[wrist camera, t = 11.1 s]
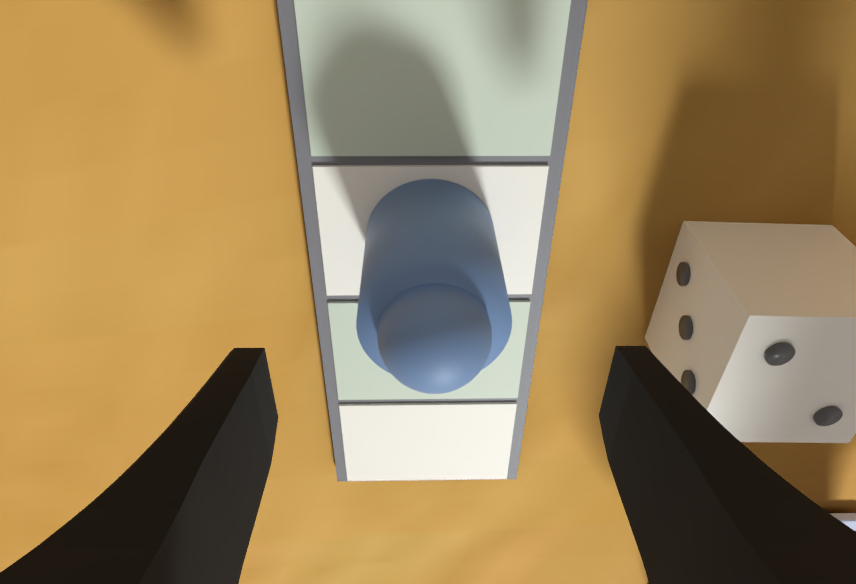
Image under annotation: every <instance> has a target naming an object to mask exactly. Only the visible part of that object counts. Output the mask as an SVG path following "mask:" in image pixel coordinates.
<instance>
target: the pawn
mask: <svg viewBox="0 0 856 584" xmlns="http://www.w3.org/2000/svg"><path fill="white" fill-rule="evenodd" d="M511 329H512V314H511V308H510V304H509V299H508V294H507V289H506V284H505V279H504V274H503V269H502V264H501V260H500V255H499V250H498V245H497V240H496V235H495V230H494V225H493V221H492V218H491V215H490V213H489V211H488V209H487V207H486V206H485V204H484V203H483V202H482V200H481V199H480V198H479V197H478V196H477V195H476V194H474V193H473V192H472V191H470V190H469V189H467V188H466V187H464V186H462V185H459V184H457V183H454V182H451V181H447V180H442V179H421V180H415V181H411V182H408V183H405V184H403V185H401V186H398V187H397V188H395V189H393V190H392V191H390V192H389V193H388V194H386V195H385V196H384V197H383V198H382V199H381V200H380V201H379V202H378V204H377V205H376V206H375V208H374V209H373V211H372V213H371V215H370V218H369V221H368V225H367V232H366V240H365V249H364V258H363V266H362V275H361V283H360V292H359V301H358V309H357V318H356V330H357V336H358V339H359V342H360V344H361V346H362V348H363V350H364V351H365V353H366V354H367V355H368V357H369V358H370V359H371V360H372V361H373V362H374V363H375V364H377V365H378V366H379V367H380V368H382V369H383V370H385V371H387V372H388V373H390V374H392V375H393V376H394V377H395V378H396V379H397V380H398V381H399V382H400V383H402V384H403V385H405V386H406V387H408V388H410V389H413V390H415V391H418V392H422V393H427V394H442V393H448V392H452V391H454V390H457V389H459V388H461V387H463V386H465V385H466V384H468V383H469V382H470V381H472V380H473V379H474V378H475V377H476V376H477V375H478V374H479V372H480V371H481V370H482V369H484V368H486V367H487V366H488V365H489V364H491V363H492V362H493V361H494V360H495V359H496V358H497V357H498V356H499V355H500V353H501V352H502V351H503V350H504V348H505V346H506V344H507V342H508V340H509V337H510V334H511Z"/></svg>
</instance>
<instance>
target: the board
mask: <svg viewBox="0 0 856 584" xmlns="http://www.w3.org/2000/svg"><path fill="white" fill-rule="evenodd" d="M587 2H588V0H277V7H278V15H279V22H280V30H281V38H282V46H283V54H284V62H285V70H286V78H287V86H288V93H289V101H290V109H291V117H292V125H293V133H294V141H295V149H296V157H297V165H298V172H299V180H300V188H301V196H302V204H303V212H304V220H305V228H306V236H307V243H308V251H309V259H310V267H311V275H312V283H313V291H314V299H315V307H316V314H317V322H318V330H319V338H320V346H321V354H322V362H323V370H324V378H325V385H326V393H327V401H328V409H329V417H330V425H331V433H332V441H333V449H334V456H335V464H336V472H337V480H338V481H407V480H485V479H516V478H517V471H518V464H519V458H520V451H521V444H522V437H523V431H524V424H525V417H526V411H527V404H528V397H529V390H530V384H531V377H532V370H533V364H534V357H535V350H536V344H537V337H538V330H539V323H540V317H541V310H542V303H543V297H544V290H545V283H546V277H547V270H548V263H549V256H550V250H551V243H552V236H553V230H554V223H555V216H556V210H557V203H558V196H559V189H560V183H561V176H562V169H563V163H564V156H565V149H566V143H567V136H568V129H569V122H570V116H571V109H572V102H573V96H574V89H575V82H576V75H577V69H578V62H579V55H580V49H581V42H582V35H583V29H584V22H585V15H586V8H587ZM421 179H442V180H447V181H451V182H454V183H457V184H459V185H462V186H464V187H466V188H467V189H469V190H470V191H472V192H473V193H474V194H476V195H477V196H478V197H479V198H480V199H481V200H482V202H483V203H484V204H485V206H486V207H487V209H488V211H489V213H490V215H491V218H492V221H493V225H494V230H495V235H496V240H497V245H498V250H499V255H500V260H501V264H502V269H503V274H504V279H505V284H506V289H507V294H508V299H509V304H510V308H511V314H512V329H511V334H510V337H509V340H508V342H507V344H506V346H505V348H504V350H503V351H502V352H501V353H500V355H499V356H498V357H497V358H496V359H495V360H494V361H493V362H492V363H491V364H489V365H488V366H487V367H486V368H484V369H482V370H481V371H480V372H479V374H478V375H477V376H476V377H475V378H474V379H473V380H472V381H470V382H469V383H468V384H466V385H465V386H463V387H461V388H459V389H457V390H454V391H452V392H448V393H442V394H427V393H422V392H418V391H415V390H413V389H410V388H408V387H406V386H405V385H403V384H402V383H400V382H399V381H398V380H397V379H396V378H395V377H394V376H393V375H392V374H390V373H388V372H387V371H385V370H383V369H382V368H380V367H379V366H378V365H377V364H375V363H374V362H373V361H372V360H371V359H370V358H369V357H368V355H367V354H366V353H365V351H364V350H363V348H362V346H361V344H360V342H359V339H358V336H357V330H356V318H357V309H358V301H359V292H360V283H361V275H362V266H363V258H364V249H365V240H366V232H367V225H368V221H369V218H370V215H371V213H372V211H373V209H374V208H375V206H376V205H377V204H378V202H379V201H380V200H381V199H382V198H383V197H384V196H385V195H386V194H388V193H389V192H390V191H392V190H393V189H395V188H397V187H398V186H401V185H403V184H405V183H408V182H411V181H415V180H421Z"/></svg>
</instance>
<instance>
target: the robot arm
mask: <svg viewBox="0 0 856 584" xmlns="http://www.w3.org/2000/svg"><path fill="white" fill-rule="evenodd" d="M599 418H600V423H601V429H602V434H603V439H604V444H605V448H606V453H607V457H608V461H609V464H610V467H611V470H612V473H613V476H614V479H615V482H616V485H617V488H618V491H619V494H620V497H621V500H622V503H623V506H624V509H625V511H626V514H627V517H628V520H629V523H630V526H631V529H632V532H633V534H634V537H635V540H636V543H637V546H638V549H639V552H640V555H641V558H642V560H643V564H644V567H645V570H646V574H647V577H648V580H649V584H856V513H828V512H827V511H825V510H824V509H822V508H821V507H820V506H818V505H817V504H816V503H814V502H813V501H811V500H810V499H809V498H807V497H806V496H805V495H804V494H802V493H801V492H800V491H799V490H797V489H796V488H795V487H793V486H792V485H791V484H790V483H788V482H787V481H786V480H784V479H783V478H782V477H781V476H779V475H778V474H777V473H776V472H774V471H773V470H772V469H771V468H770V467H768V466H767V465H766V464H765V463H764V462H762V461H761V460H760V459H759V458H758V457H757V456H756V455H754V454H753V453H752V452H751V451H750V450H749V449H748V448H747V447H745V446H744V445H743V444H742V443H741V442H740V441H739V440H738V439H737V438H735V437H734V436H733V435H732V434H731V433H730V432H729V431H728V430H727V429H726V428H725V427H724V426H723V425H722V424H721V423H720V422H718V421H717V420H716V419H715V418H714V417H713V416H712V415H711V414H710V413H709V412H708V411H707V410H706V409H705V408H704V407H703V406H702V405H701V404H700V403H699V402H698V401H697V400H696V399H695V398H694V397H693V396H692V395H691V394H690V392H689V391H688V390H687V389H686V388H685V387H684V386H683V385H682V384H681V383H680V382H679V381H678V380H677V379H676V378H675V377H674V376H673V375H672V374H671V372H670V371H669V370H668V369H667V368H666V367H665V366H664V365H663V364H662V363H661V362H660V361H659V360H658V359H657V358H656V357H655V355H654V354H653V353H652V352H651V351H650V350H649V349H648V348H647V347H646V346H616V348H615V352H614V356H613V360H612V364H611V368H610V372H609V376H608V380H607V384H606V388H605V393H604V397H603V401H602V405H601V409H600V413H599ZM277 422H278V414H277V409H276V404H275V399H274V394H273V389H272V384H271V379H270V374H269V369H268V363H267V358H266V353H265V348H234V349H233V350H232V351H231V352H230V353H229V354H228V356H227V357H226V358H225V359H224V361H223V362H222V363H221V364H220V366H219V367H218V368H217V369H216V371H215V372H214V373H213V374H212V376H211V377H210V378H209V379H208V381H207V382H206V383H205V384H204V386H203V387H202V388H201V389H200V391H199V392H198V393H197V394H196V395H195V397H194V398H193V399H192V400H191V401H190V402H189V404H188V405H187V406H186V407H185V408H184V409H183V411H182V412H181V413H180V414H179V415H178V416H177V418H176V419H175V420H174V421H173V422H172V423H171V424H170V426H169V427H168V428H167V429H166V430H165V431H164V432H163V433H162V434H161V435H160V436H159V437H158V438H157V440H156V441H155V442H154V443H153V444H152V445H151V446H150V447H149V448H148V449H147V450H146V451H145V452H144V453H143V454H142V455H141V456H140V457H139V458H138V459H137V460H136V461H135V462H134V463H133V464H132V465H131V466H130V467H129V468H128V469H127V470H126V471H125V472H124V473H123V474H122V475H121V476H120V477H119V478H118V479H117V480H116V481H115V482H114V483H113V484H111V485H110V486H109V487H108V488H107V489H106V490H105V491H104V492H103V493H102V494H100V495H99V496H98V497H97V498H96V499H95V500H94V501H93V502H91V503H90V504H89V505H88V506H87V507H85V508H84V509H83V510H82V511H81V512H79V513H78V514H77V515H76V516H75V517H73V518H72V519H71V520H70V521H69V522H67V523H66V524H65V525H64V526H62V527H61V528H60V529H59V530H57V531H56V532H55V533H54V534H52V535H51V536H50V537H48V538H47V539H46V540H45V541H43V542H42V543H41V544H40V545H38V546H37V547H36V548H34V549H33V550H31V551H30V552H29V553H27V554H26V555H25V556H23V557H22V558H20V559H19V560H18V561H16V562H15V563H13V564H12V565H11V566H9V567H8V568H6V569H5V570H4V571H2V572H1V573H0V584H238V583H239V579H240V574H241V570H242V566H243V562H244V559H245V555H246V552H247V548H248V545H249V541H250V537H251V534H252V530H253V527H254V523H255V520H256V516H257V513H258V509H259V506H260V502H261V499H262V495H263V491H264V488H265V484H266V480H267V477H268V473H269V469H270V466H271V461H272V455H273V449H274V443H275V436H276V429H277Z"/></svg>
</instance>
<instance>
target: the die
mask: <svg viewBox="0 0 856 584" xmlns="http://www.w3.org/2000/svg"><path fill="white" fill-rule="evenodd" d="M645 339H646V341H647V344H648V346H649V348H650V350H651V352H652V353H653V354H654V355H655V357H656V358H657V359H658V360H659V361H660V362H661V363H662V364H663V365H664V366H665V367H666V368H667V369H668V370H669V371H670V372H671V374H672V375H673V376H674V377H675V378H676V379H677V380H678V381H679V382H680V383H681V384H682V385H683V386H684V387H685V388H686V389H687V390H688V391H689V392H690V394H691V395H692V396H693V397H694V398H695V399H696V400H697V401H698V402H699V403H700V404H701V405H702V406H703V407H704V408H705V409H706V410H707V411H708V412H709V413H710V414H711V415H712V416H713V417H714V418H715V419H716V420H717V421H718V422H720V423H721V424H722V425H723V426H724V427H725V428H726V429H727V430H728V431H729V432H730V433H731V434H732V435H733V436H734V437H735V438H737V439H738V440H739V441H740V442H789V443H850V441H851V440H852V438H853V437H854V435H855V434H856V247H855V246H854V245H853V244H852V243H851V242H850V241H849V240H848V239H847V238H846V237H845V236H844V235H843V234H842V233H840V232H839V231H838V230H837V229H836V228H835V227H834V226H833V225H813V224H777V223H741V222H705V221H683V223H682V226H681V229H680V232H679V235H678V238H677V241H676V245H675V248H674V251H673V254H672V257H671V260H670V263H669V266H668V269H667V272H666V275H665V278H664V281H663V284H662V287H661V290H660V293H659V296H658V299H657V302H656V305H655V308H654V311H653V314H652V317H651V320H650V323H649V326H648V329H647V332H646V335H645Z"/></svg>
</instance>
